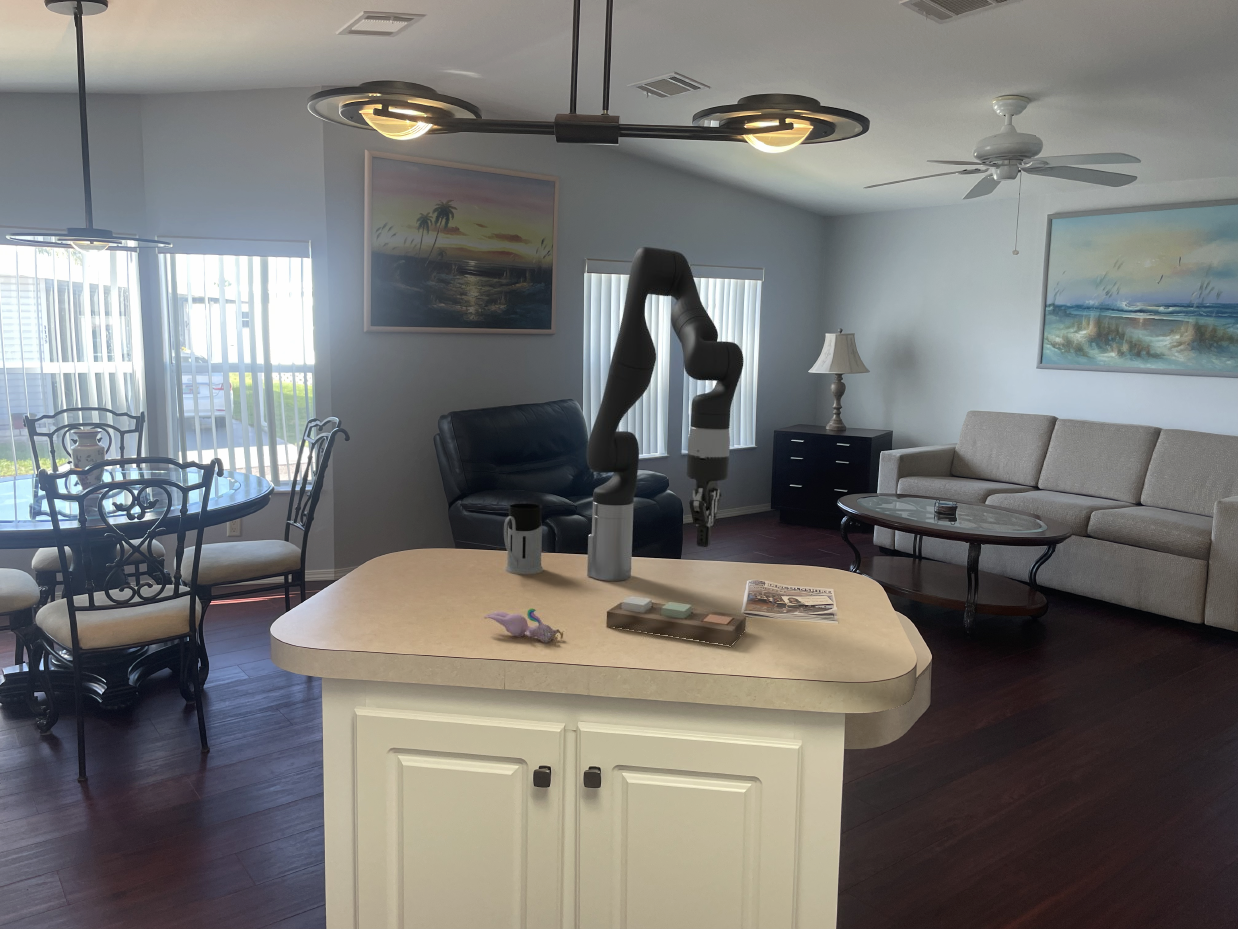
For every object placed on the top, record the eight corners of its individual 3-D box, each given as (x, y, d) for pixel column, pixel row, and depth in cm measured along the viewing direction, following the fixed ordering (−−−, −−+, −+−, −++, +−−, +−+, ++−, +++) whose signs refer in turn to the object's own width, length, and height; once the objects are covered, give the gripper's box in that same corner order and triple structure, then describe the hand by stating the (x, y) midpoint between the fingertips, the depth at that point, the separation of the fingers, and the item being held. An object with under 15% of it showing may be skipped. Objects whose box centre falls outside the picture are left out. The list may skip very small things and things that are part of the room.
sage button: (661, 622, 166) (661, 607, 166) (668, 616, 170) (669, 601, 170) (683, 625, 165) (684, 611, 164) (691, 619, 169) (691, 605, 168)
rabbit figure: (565, 645, 161) (492, 620, 166) (571, 614, 160) (497, 590, 165) (550, 655, 155) (475, 629, 160) (556, 623, 154) (480, 598, 159)
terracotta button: (702, 635, 163) (702, 620, 163) (709, 628, 168) (709, 614, 167) (725, 639, 162) (726, 624, 161) (731, 632, 166) (732, 617, 166)
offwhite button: (621, 616, 169) (621, 601, 169) (629, 610, 173) (630, 596, 173) (642, 619, 168) (643, 605, 167) (651, 613, 172) (651, 599, 171)
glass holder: (549, 567, 211) (550, 505, 209) (521, 581, 198) (523, 514, 196) (516, 563, 214) (517, 501, 212) (486, 576, 201) (487, 510, 199)
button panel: (606, 627, 168) (606, 611, 167) (626, 613, 177) (626, 598, 176) (730, 647, 159) (731, 630, 158) (745, 631, 168) (746, 616, 167)
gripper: (699, 447, 170) (694, 536, 172) (677, 454, 157) (672, 550, 160) (737, 450, 167) (732, 541, 169) (718, 458, 155) (713, 556, 157)
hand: (703, 545), depth 165 cm, fingers closed
